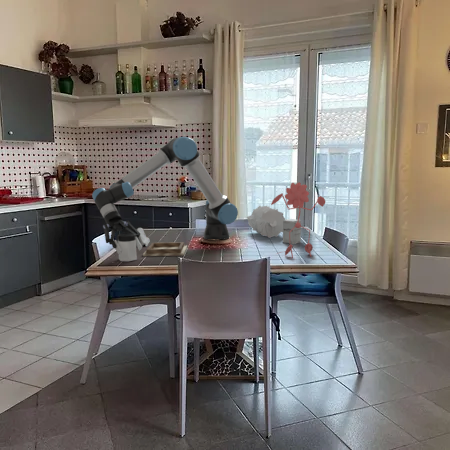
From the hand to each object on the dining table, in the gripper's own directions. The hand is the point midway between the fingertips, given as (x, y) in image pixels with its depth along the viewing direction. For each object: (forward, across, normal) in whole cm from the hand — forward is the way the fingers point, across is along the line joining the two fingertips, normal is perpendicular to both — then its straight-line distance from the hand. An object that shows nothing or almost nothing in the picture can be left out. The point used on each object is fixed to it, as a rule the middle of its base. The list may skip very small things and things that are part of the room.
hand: (130, 250), depth 205 cm
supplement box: (+27, -82, +20) cm, 89 cm away
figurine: (+40, -60, +33) cm, 79 cm away
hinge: (-17, -26, -24) cm, 40 cm away
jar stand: (+2, -23, -5) cm, 23 cm away
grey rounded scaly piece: (+10, -90, +3) cm, 91 cm away
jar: (+1, 0, -6) cm, 6 cm away
